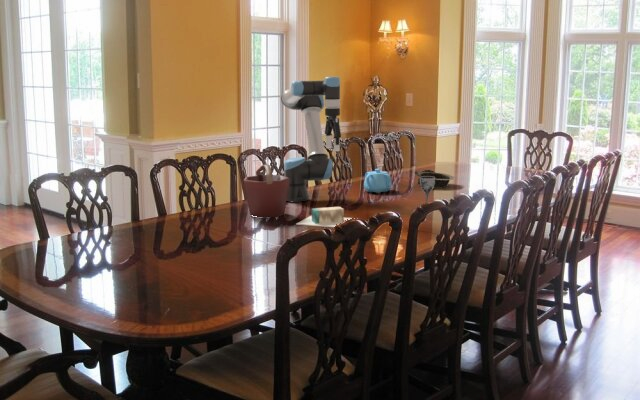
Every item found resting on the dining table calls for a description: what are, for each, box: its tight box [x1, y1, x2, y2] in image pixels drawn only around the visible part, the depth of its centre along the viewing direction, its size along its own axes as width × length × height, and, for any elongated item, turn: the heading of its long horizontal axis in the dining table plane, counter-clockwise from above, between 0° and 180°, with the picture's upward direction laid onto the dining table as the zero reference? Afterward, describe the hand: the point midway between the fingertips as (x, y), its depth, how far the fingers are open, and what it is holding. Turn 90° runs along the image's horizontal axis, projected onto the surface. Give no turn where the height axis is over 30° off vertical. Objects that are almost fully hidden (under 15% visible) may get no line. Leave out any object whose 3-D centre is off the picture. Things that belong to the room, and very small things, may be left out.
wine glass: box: [419, 176, 435, 203], centre depth 360 cm, size 8×8×15 cm
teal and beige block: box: [311, 206, 345, 224], centre depth 323 cm, size 6×6×14 cm
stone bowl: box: [414, 169, 456, 189], centre depth 418 cm, size 25×25×9 cm
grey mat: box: [295, 214, 359, 228], centre depth 324 cm, size 24×20×1 cm
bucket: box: [243, 164, 289, 218], centre depth 339 cm, size 24×22×25 cm
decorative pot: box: [363, 168, 393, 195], centre depth 401 cm, size 16×16×14 cm
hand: (332, 149), depth 349 cm, fingers open, 13 cm apart
